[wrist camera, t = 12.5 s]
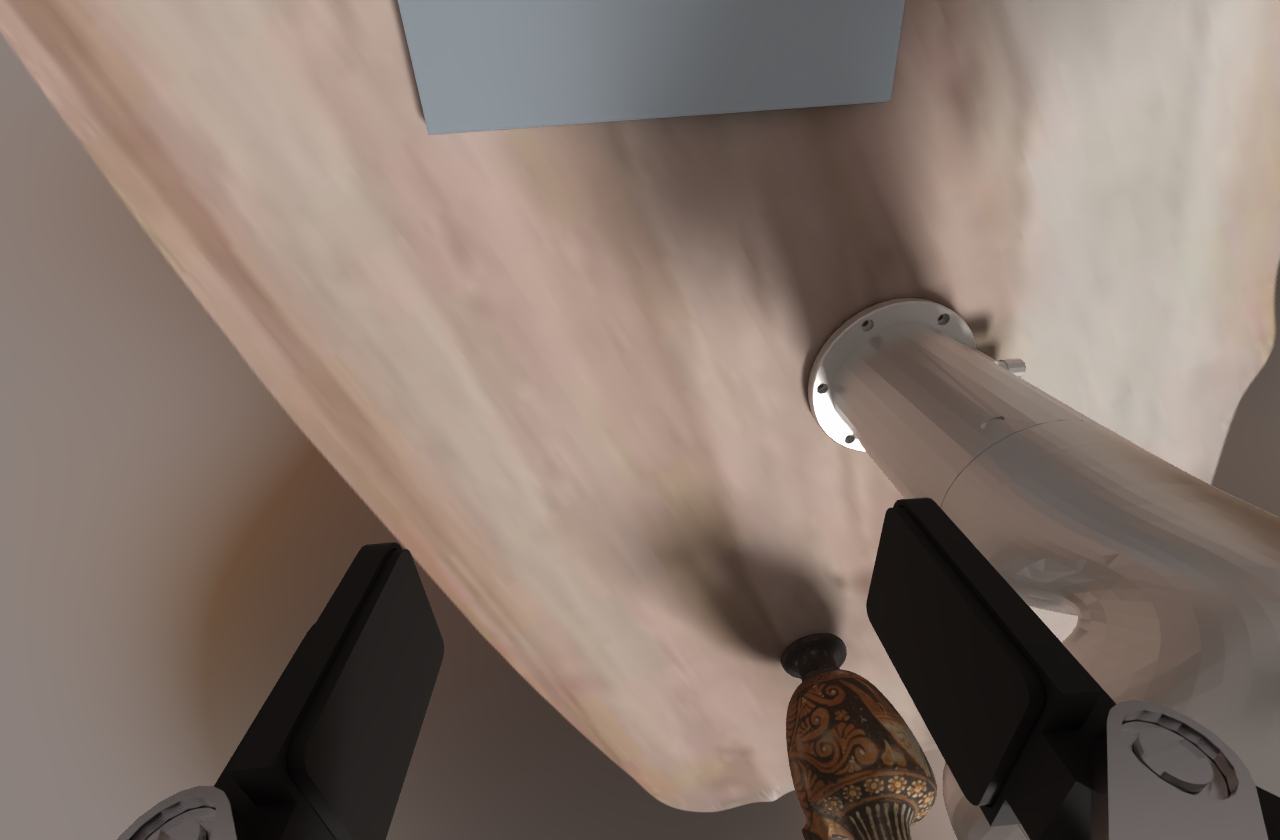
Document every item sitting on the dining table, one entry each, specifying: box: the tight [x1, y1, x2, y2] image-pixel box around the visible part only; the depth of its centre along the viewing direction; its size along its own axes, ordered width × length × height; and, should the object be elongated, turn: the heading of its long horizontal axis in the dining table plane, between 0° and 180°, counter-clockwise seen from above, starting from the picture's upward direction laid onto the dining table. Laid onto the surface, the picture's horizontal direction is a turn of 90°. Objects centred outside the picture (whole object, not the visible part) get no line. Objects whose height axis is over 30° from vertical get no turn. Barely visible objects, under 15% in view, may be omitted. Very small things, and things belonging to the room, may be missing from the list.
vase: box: [781, 634, 937, 840], centre depth 43 cm, size 12×12×30 cm
